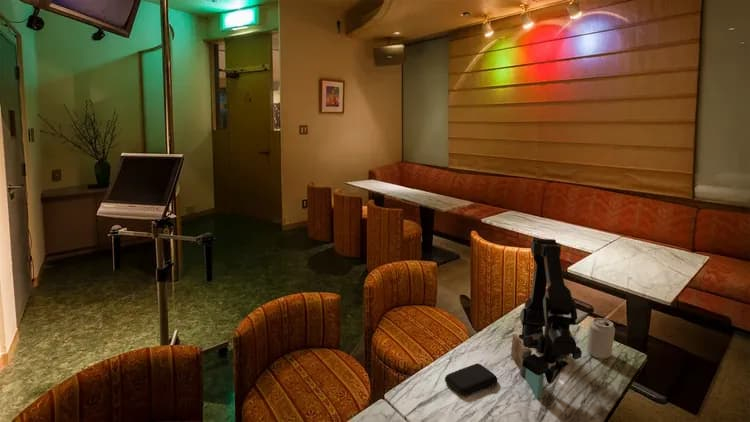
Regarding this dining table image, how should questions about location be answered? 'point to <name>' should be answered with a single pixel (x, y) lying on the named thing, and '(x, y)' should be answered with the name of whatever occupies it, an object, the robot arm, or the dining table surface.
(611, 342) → the can
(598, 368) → the dining table surface
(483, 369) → the carrying case or bag
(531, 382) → the hinge leaf
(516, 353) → the fixed leaf
